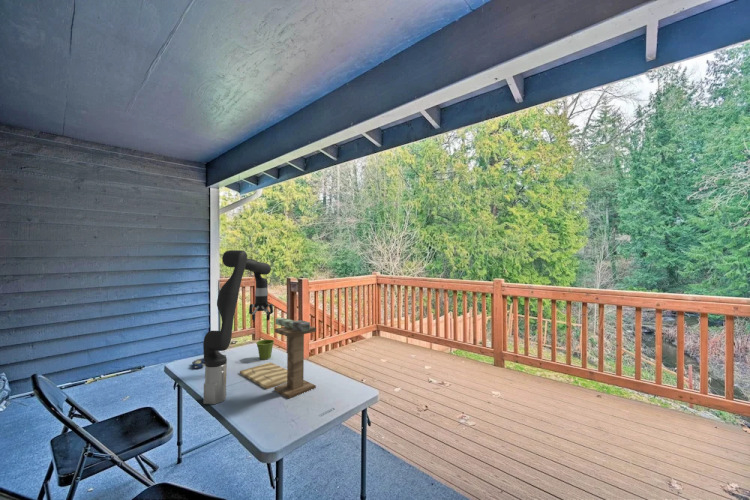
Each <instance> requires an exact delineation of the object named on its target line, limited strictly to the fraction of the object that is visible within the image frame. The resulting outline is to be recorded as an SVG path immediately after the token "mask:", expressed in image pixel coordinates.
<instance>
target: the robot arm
mask: <svg viewBox="0 0 750 500" xmlns="http://www.w3.org/2000/svg"><path fill="white" fill-rule="evenodd" d="M221 260H222V263H223V266H225V267H227V268H233V271H232V273H231V276H230V277H229V278H228V279H227V280H226V281H225V282H224V284H223V285H222V286H221V288H220V289H219V291H218V296H217V299H216V306H217V309H218V310H217V311H219V314H220V315H219V316H220V319H221V328H220V330H210V331H208V332H206V334H205V335H204V338H203V345H202V347H203V358H204V361H205V366H204V367H205V371H204V383H203V402H202V403H203V405H204V404H205V405H217V404H218V403H222V402H223V401H225V400H227V367H228V366H227V363H228V362H227V361H228V360H227V359H228V358H227V355H226V356H224V355H225V354H222V353H221V352H223V351H224V352H225V351H227V349H228V348H229V347H230V345H231V341H232V335H233V328H234V327H233V326H234V317H235V312H236V308H237V303H238V298H239V294H240V289H241V283H242V280H243V279H242V278H243V277H244V274H245V273H244V272H245V270H246V271H248V272H252V273H253V276H254V279H255V290H254V304H253V303H250V304H249V307H248V308H249V309H248V314H250V315H251V320H252V321H253V322H254V321H256V313H257V312H264V313H266V321H267V322H269V320H270V319H271V315H272V314H273V313H274V304H273V303H270V304H269V303H268V302H269V301H268V300H269V299H268V297H269V290H268V283H269V282H268V279H267V278H265V277H263V276H262V275H265V276H266V275H269V274H271V270H272V268H271V267H272V266H271V265H270V264H269V263H268V262H263V261H262V262H261V261H258V260H256V259H253V258H252V259H251V258H249V257H248V254H247V252H246V251H245V250H235V249H234V250H232V249H230V250H226V251H224V253H223V254H222V259H221ZM253 308H255V309H254V310H253ZM268 308H269V309H268ZM220 351H221V352H220Z"/></svg>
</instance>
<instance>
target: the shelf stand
mask: <svg viewBox="0 0 750 500" xmlns="http://www.w3.org/2000/svg"><path fill="white" fill-rule="evenodd" d="M274 333H276V334H278V335H282V336H283V337H284V336H285V337H287V353H286V354H287V357H286V360H287V363H286V370H287V383H284V384H281V385H278V386H275V387H273V388H274V389H273V390H274V391H275V392H276V393H278V394H280V395H282V396H284V397H286V398H287V399H289V400H290V399H292V398H295V397H297V395H298V396H300V395H302V393H303V394H304V392H305V393H307V391H308V392H309V390H310V391H312V390H311V389H313V390H315V389H316V387H317V385H315V384H313V383H312V382H309V381H308V380H305V379H304V370H305V369H304V367H305V364H304V361H305V359H304V356H305V355H304V353H305V351H304V350H305V346H304V345H305V344H304V343H305V335H306V334H311V333H317V327H315V326H311V325H310V330H308V331H304V332H300V331H297V330H293V329H291V328H288V327H284V326H281V327H277V328H275V329H274ZM314 388H315V389H314Z"/></svg>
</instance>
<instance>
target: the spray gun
mask: <svg viewBox="0 0 750 500" xmlns="http://www.w3.org/2000/svg"><path fill="white" fill-rule="evenodd" d="M223 355H224V356H226V357H227V354H223ZM191 367H192V369H198V370H199V369H203V367H205V361H204V357H202V358H198V359H195V360H193V361H192V366H191Z"/></svg>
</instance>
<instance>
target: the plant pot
mask: <svg viewBox="0 0 750 500" xmlns="http://www.w3.org/2000/svg"><path fill="white" fill-rule="evenodd" d="M274 343H275V340H274V339H262V340H261V339H260V340H258V341H256V342H255V344H256V347H257V351H258V355H259V360H261V361H262V360H263V361H265V360H269V359H271V358H272V352H273V347H274Z"/></svg>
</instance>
